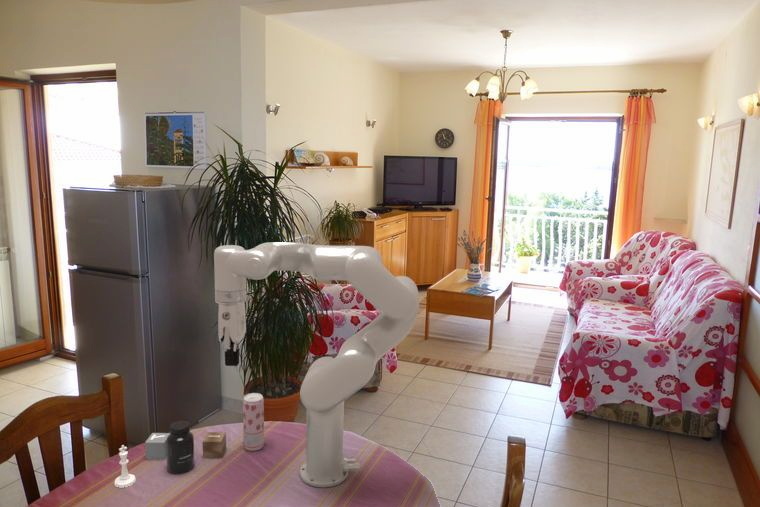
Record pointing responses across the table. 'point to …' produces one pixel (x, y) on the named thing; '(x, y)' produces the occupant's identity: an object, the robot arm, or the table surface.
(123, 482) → the chess piece
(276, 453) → the table surface
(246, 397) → the beverage can
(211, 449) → the walnut numbered block
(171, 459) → the supplement bottle
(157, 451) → the slate-grey numbered block
